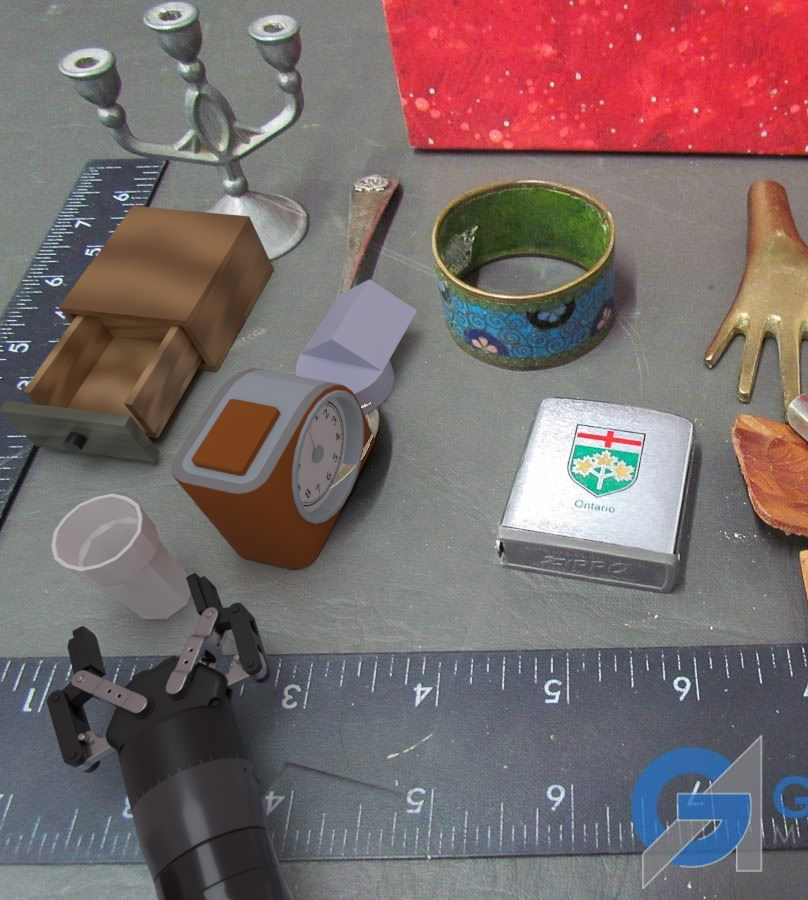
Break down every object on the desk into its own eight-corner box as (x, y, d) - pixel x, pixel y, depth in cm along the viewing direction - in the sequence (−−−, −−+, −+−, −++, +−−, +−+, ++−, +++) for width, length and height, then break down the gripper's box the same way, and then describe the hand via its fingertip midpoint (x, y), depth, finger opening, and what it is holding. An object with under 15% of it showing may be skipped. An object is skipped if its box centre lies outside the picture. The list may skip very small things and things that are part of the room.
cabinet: (217, 371, 86) (185, 321, 80) (98, 358, 87) (57, 307, 81) (274, 268, 95) (249, 216, 88) (164, 258, 96) (132, 205, 90)
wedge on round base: (347, 317, 90) (290, 408, 83) (329, 271, 84) (266, 364, 77) (423, 332, 88) (372, 426, 81) (410, 287, 83) (353, 383, 76)
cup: (168, 640, 69) (99, 583, 60) (107, 612, 71) (32, 552, 62) (218, 574, 72) (160, 510, 63) (159, 548, 74) (95, 483, 65)
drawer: (148, 472, 78) (117, 436, 73) (29, 457, 79) (-9, 421, 74) (217, 349, 87) (194, 310, 82) (109, 337, 88) (80, 298, 83)
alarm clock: (313, 575, 72) (256, 494, 61) (226, 555, 73) (155, 472, 62) (379, 441, 80) (339, 348, 69) (299, 425, 82) (248, 331, 70)
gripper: (277, 723, 54) (211, 539, 63) (54, 844, 51) (13, 631, 59) (313, 753, 61) (248, 582, 69) (116, 863, 57) (72, 668, 65)
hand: (140, 604), depth 64 cm, fingers open, 8 cm apart
